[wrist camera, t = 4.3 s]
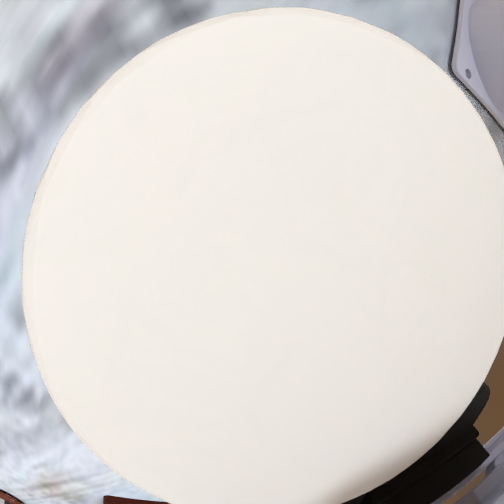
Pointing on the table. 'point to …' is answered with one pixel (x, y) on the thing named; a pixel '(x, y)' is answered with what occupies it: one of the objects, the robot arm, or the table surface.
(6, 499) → the supplement bottle
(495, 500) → the robot arm
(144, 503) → the box
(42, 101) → the table surface
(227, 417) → the supplement bottle
